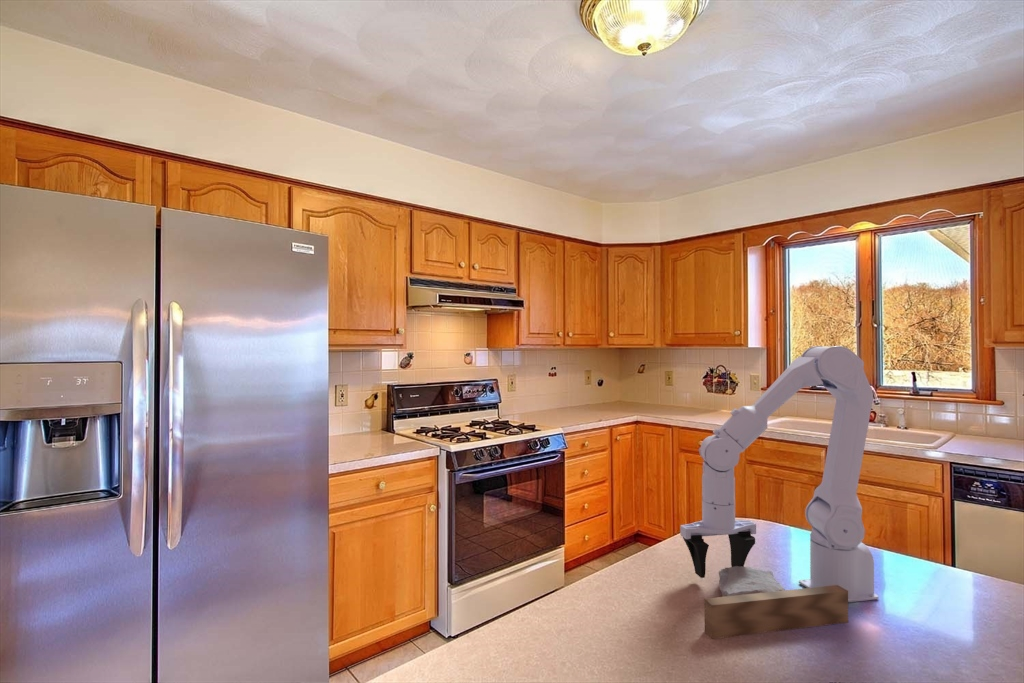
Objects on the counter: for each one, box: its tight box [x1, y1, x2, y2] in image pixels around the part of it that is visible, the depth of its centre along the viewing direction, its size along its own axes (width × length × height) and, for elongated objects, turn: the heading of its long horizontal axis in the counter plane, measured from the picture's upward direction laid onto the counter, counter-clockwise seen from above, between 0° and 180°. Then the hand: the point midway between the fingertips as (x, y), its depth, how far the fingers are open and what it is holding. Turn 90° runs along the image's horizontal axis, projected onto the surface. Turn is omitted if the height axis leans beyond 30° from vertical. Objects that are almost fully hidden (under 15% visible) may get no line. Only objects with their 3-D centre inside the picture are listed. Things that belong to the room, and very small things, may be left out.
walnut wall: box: [704, 585, 849, 640], centre depth 78 cm, size 24×2×5 cm, turn 101°
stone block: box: [718, 566, 786, 597], centre depth 87 cm, size 12×5×10 cm
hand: (718, 573), depth 93 cm, fingers open, 7 cm apart
